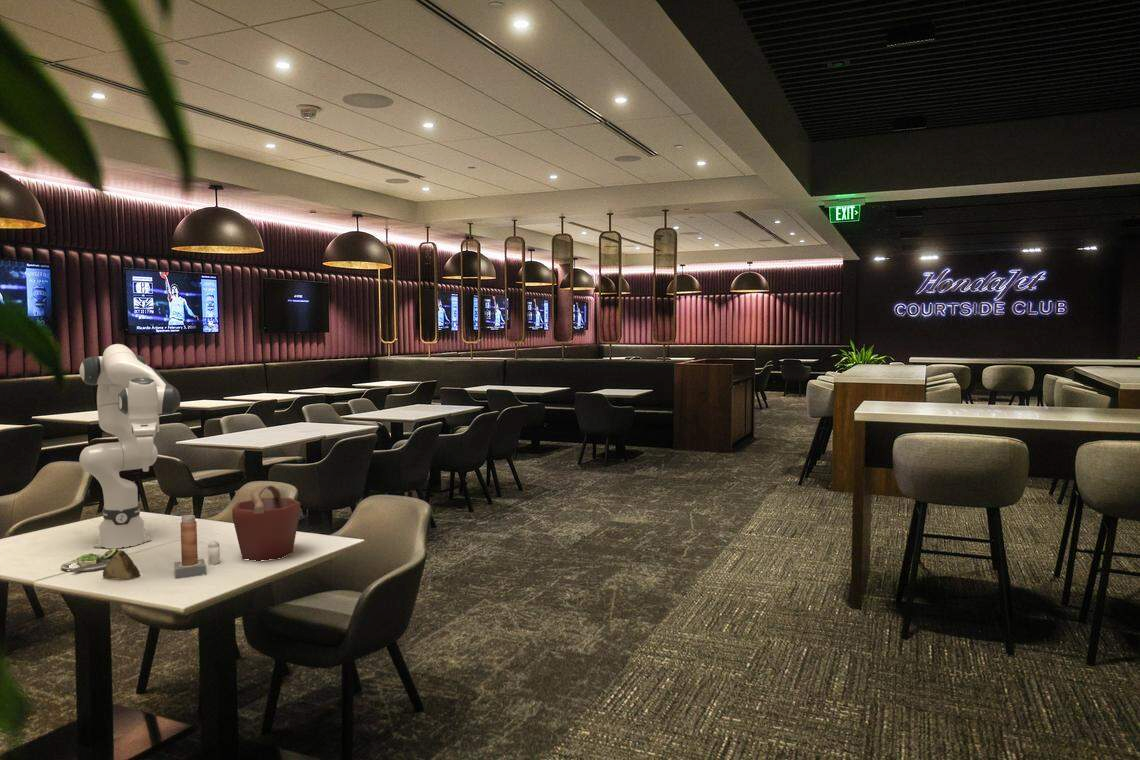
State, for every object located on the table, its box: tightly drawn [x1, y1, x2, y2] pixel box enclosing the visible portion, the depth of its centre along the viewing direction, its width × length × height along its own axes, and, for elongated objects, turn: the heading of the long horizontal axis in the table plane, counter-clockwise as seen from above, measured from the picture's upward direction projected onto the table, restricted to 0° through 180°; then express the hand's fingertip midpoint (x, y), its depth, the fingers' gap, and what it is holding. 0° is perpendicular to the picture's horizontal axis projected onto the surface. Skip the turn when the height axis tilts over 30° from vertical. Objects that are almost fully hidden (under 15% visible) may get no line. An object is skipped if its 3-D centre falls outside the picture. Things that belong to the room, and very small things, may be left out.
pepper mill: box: [179, 514, 198, 566], centre depth 257 cm, size 5×5×16 cm
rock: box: [102, 549, 142, 580], centre depth 253 cm, size 11×9×10 cm
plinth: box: [173, 558, 207, 579], centre depth 257 cm, size 9×9×3 cm
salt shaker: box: [207, 540, 221, 565], centre depth 268 cm, size 4×4×8 cm
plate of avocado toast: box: [60, 548, 119, 572], centre depth 265 cm, size 19×18×5 cm
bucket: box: [231, 484, 301, 562], centre depth 278 cm, size 24×22×25 cm
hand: (145, 469), depth 255 cm, fingers open, 8 cm apart
